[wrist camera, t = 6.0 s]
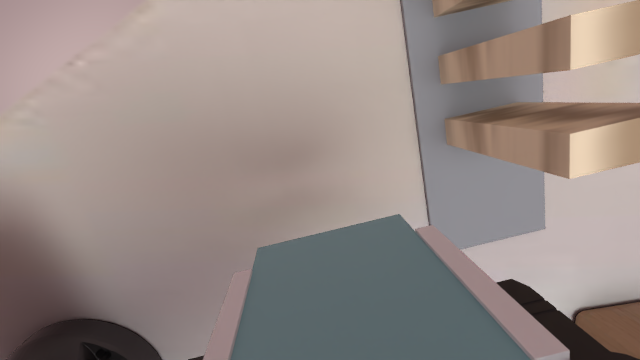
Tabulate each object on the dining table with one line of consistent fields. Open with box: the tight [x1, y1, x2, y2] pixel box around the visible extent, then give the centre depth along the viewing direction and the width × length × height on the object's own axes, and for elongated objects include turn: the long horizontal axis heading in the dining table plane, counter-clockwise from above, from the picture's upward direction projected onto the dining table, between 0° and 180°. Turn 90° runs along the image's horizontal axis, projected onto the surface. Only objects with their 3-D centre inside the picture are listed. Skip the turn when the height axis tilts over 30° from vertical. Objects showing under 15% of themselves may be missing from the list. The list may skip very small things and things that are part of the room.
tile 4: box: [444, 102, 640, 179], centre depth 22 cm, size 7×2×13 cm, turn 102°
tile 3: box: [438, 0, 640, 84], centre depth 20 cm, size 7×2×13 cm, turn 102°
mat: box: [400, 0, 545, 249], centre depth 27 cm, size 12×32×1 cm, turn 12°
